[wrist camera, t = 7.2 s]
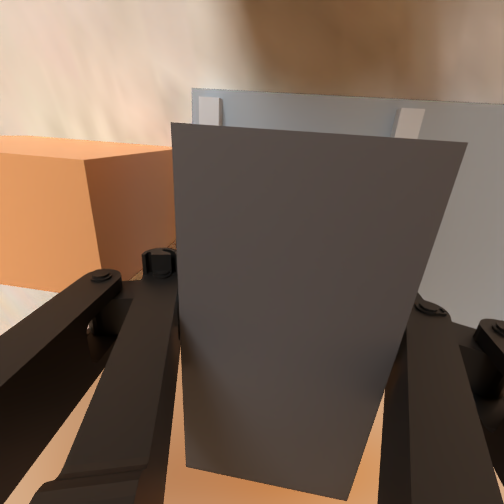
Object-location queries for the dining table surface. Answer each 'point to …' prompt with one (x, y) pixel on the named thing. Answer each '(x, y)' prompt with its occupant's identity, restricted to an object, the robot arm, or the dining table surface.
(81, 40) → the dining table surface
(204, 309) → the grey rectangular block
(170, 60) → the dining table surface
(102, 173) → the terracotta block
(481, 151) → the grey flat panel
